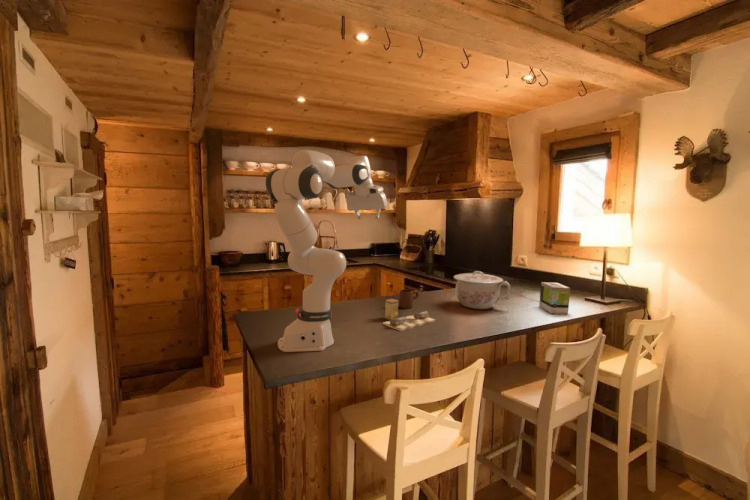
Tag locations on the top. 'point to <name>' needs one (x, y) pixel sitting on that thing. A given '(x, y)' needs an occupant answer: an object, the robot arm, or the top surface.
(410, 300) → the mug
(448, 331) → the top surface
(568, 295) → the tea box
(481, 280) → the chamber pot
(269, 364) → the top surface
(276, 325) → the top surface
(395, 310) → the pale yellow tall box
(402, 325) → the beige bumpy flat tray
